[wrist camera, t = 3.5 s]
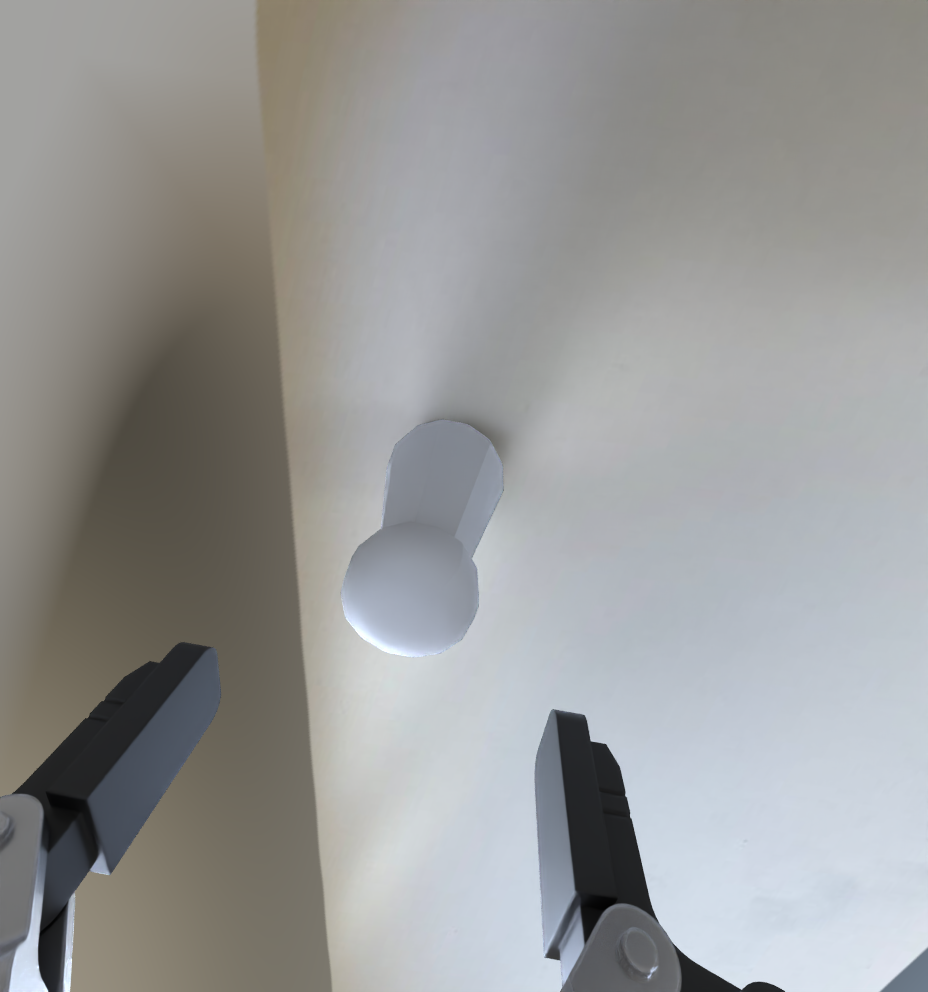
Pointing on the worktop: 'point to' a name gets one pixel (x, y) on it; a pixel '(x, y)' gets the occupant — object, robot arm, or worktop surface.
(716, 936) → the worktop surface
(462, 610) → the salt shaker
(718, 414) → the worktop surface
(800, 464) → the worktop surface
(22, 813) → the robot arm
